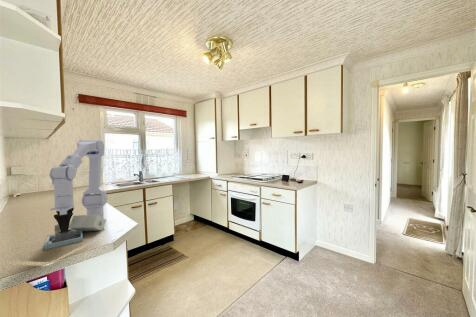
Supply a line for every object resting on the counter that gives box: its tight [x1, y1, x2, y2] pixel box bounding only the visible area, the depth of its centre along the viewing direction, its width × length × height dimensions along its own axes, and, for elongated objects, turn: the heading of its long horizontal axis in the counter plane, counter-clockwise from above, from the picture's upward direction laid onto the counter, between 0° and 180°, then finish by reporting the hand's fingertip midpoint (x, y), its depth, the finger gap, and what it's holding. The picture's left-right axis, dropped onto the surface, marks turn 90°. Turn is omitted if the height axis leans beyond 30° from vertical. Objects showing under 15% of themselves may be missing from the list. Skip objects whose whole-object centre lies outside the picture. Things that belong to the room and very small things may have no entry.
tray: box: [43, 230, 84, 250], centre depth 79 cm, size 11×11×2 cm
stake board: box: [44, 222, 75, 241], centre depth 87 cm, size 9×10×6 cm
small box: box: [69, 214, 107, 232], centre depth 89 cm, size 8×6×10 cm
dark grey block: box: [51, 228, 75, 243], centre depth 79 cm, size 5×7×4 cm
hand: (65, 228), depth 80 cm, fingers open, 7 cm apart
